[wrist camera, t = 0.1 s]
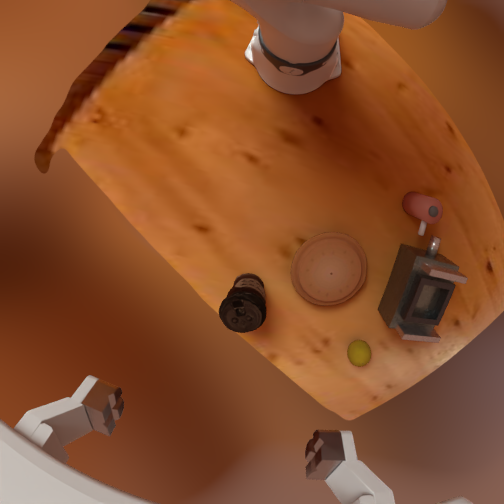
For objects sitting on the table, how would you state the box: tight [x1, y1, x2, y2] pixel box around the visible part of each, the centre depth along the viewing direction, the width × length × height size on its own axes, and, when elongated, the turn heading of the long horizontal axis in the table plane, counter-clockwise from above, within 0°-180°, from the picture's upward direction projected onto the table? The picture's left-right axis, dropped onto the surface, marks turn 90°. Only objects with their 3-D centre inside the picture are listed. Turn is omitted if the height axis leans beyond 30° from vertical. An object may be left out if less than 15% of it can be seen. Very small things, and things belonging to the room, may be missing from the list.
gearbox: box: [378, 235, 468, 343], centre depth 50 cm, size 20×12×13 cm, turn 169°
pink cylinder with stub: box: [402, 192, 443, 236], centre depth 48 cm, size 8×5×10 cm, turn 169°
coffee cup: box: [219, 273, 266, 333], centre depth 54 cm, size 9×8×13 cm
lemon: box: [347, 340, 371, 367], centre depth 59 cm, size 6×6×8 cm
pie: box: [291, 232, 367, 306], centre depth 55 cm, size 16×16×5 cm
